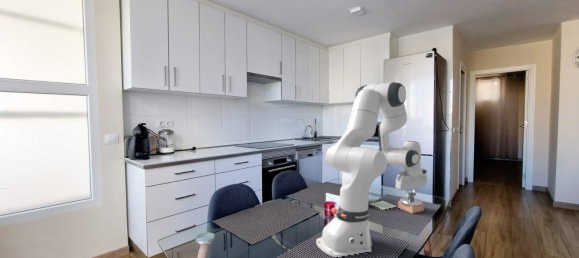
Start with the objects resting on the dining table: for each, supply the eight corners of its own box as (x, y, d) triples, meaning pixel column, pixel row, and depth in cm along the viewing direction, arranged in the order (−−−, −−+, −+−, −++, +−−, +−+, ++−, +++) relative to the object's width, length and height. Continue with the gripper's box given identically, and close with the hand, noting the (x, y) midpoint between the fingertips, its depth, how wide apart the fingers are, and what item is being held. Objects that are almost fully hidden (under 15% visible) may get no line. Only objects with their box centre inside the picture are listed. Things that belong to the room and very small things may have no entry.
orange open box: (412, 213, 132) (412, 206, 132) (397, 208, 140) (398, 201, 140) (423, 211, 136) (423, 203, 136) (409, 205, 144) (409, 198, 144)
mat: (383, 210, 138) (383, 209, 138) (369, 204, 147) (369, 203, 147) (396, 207, 142) (396, 206, 142) (382, 201, 151) (382, 200, 151)
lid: (413, 207, 131) (413, 197, 130) (395, 200, 140) (395, 192, 140) (427, 203, 136) (427, 194, 135) (409, 198, 145) (409, 189, 145)
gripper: (402, 173, 130) (402, 200, 131) (429, 170, 139) (428, 195, 139) (392, 171, 135) (392, 197, 136) (418, 168, 144) (418, 192, 145)
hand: (410, 196), depth 138 cm, fingers closed on lid, 3 cm apart
